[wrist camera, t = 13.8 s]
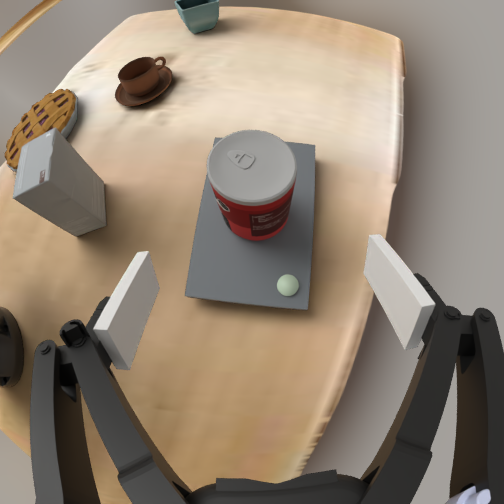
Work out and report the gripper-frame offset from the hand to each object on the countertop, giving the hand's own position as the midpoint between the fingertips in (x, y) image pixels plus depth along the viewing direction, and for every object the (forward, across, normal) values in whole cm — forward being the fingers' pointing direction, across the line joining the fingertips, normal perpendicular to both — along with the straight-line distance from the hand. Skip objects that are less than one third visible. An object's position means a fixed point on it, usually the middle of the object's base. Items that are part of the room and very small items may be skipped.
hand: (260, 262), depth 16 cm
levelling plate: (+20, 0, -6) cm, 21 cm away
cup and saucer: (+42, -20, +15) cm, 49 cm away
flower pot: (+58, -10, +32) cm, 67 cm away
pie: (+39, -45, +12) cm, 61 cm away
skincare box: (+24, -26, -3) cm, 35 cm away
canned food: (+18, 0, -4) cm, 19 cm away
